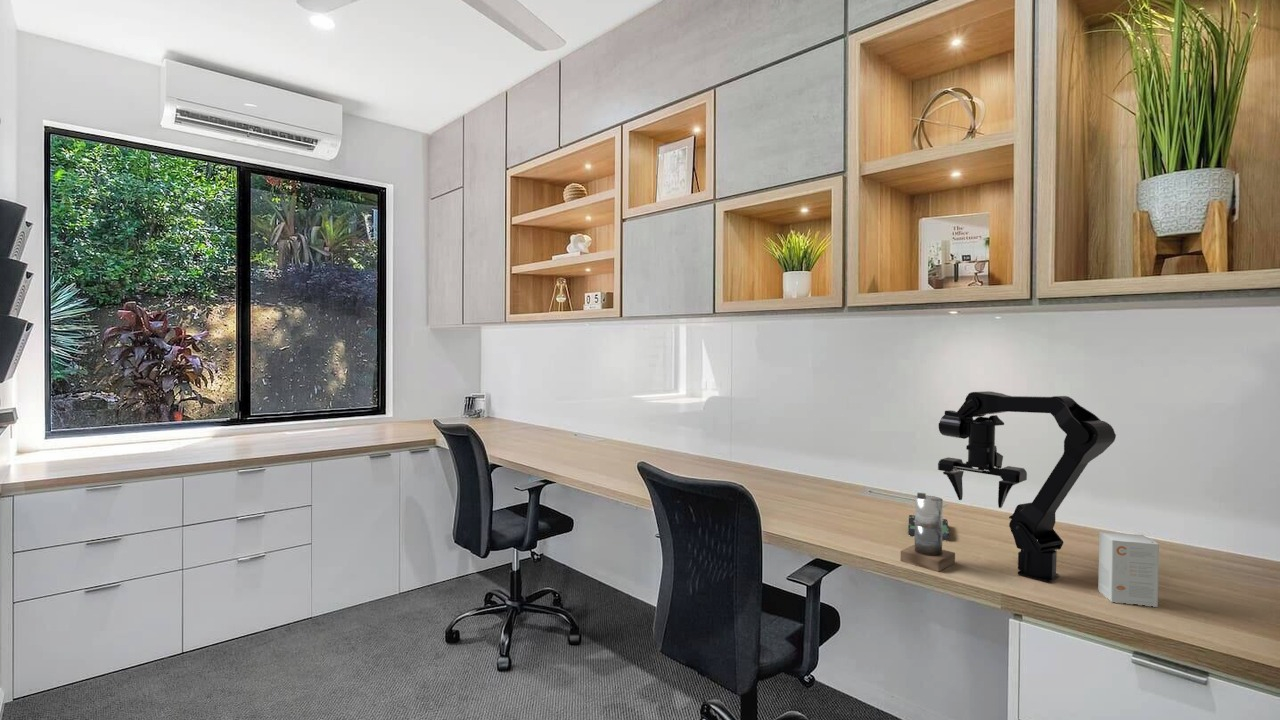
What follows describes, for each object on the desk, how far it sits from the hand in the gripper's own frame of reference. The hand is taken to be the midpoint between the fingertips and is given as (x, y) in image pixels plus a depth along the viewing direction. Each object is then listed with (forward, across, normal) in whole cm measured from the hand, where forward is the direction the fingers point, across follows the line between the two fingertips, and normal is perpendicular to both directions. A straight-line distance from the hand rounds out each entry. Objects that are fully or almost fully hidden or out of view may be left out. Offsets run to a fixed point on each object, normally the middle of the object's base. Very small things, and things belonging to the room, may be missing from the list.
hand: (979, 503), depth 149 cm
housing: (+10, +6, +15) cm, 19 cm away
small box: (+13, -30, +4) cm, 33 cm away
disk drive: (+14, +17, -10) cm, 24 cm away
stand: (+13, +6, +15) cm, 21 cm away
